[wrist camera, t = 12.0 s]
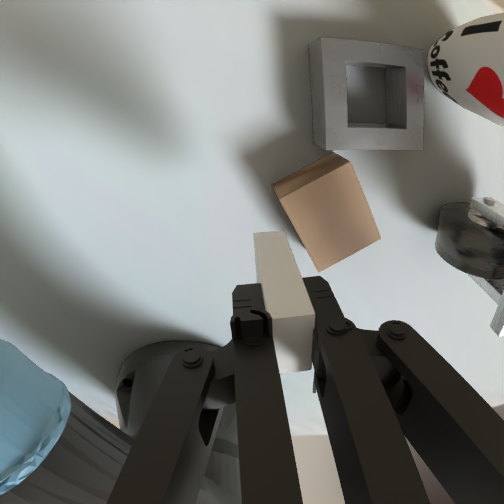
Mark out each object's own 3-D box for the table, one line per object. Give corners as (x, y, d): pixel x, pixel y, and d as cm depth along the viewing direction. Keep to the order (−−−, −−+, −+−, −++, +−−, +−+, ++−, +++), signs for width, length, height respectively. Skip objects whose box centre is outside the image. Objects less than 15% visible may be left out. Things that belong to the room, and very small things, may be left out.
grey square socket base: (313, 142, 21) (326, 150, 19) (308, 44, 18) (320, 37, 15) (401, 142, 21) (422, 150, 19) (400, 52, 18) (422, 49, 16)
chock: (307, 249, 25) (318, 272, 22) (271, 184, 23) (278, 199, 20) (362, 219, 24) (381, 238, 21) (332, 151, 22) (350, 161, 19)
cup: (406, 12, 17) (497, -11, 8) (481, 33, 17) (569, 34, 8) (413, 112, 20) (507, 136, 12) (485, 121, 21) (572, 149, 12)
